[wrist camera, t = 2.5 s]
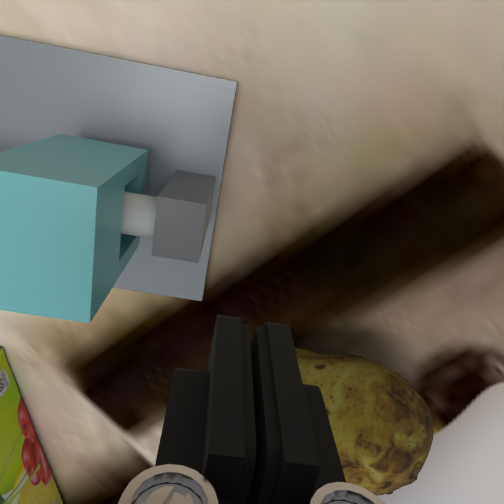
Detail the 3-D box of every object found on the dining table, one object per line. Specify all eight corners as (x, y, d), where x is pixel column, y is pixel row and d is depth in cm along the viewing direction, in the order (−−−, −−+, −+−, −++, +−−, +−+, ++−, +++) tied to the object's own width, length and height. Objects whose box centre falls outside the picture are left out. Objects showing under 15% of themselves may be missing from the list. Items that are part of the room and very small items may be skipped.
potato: (205, 310, 27) (191, 399, 20) (409, 331, 28) (469, 424, 20) (195, 416, 30) (179, 528, 23) (379, 432, 31) (421, 546, 23)
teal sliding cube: (148, 149, 20) (97, 187, 13) (138, 245, 22) (89, 323, 15) (60, 133, 20) (-39, 163, 13) (57, 232, 22) (-31, 305, 15)
